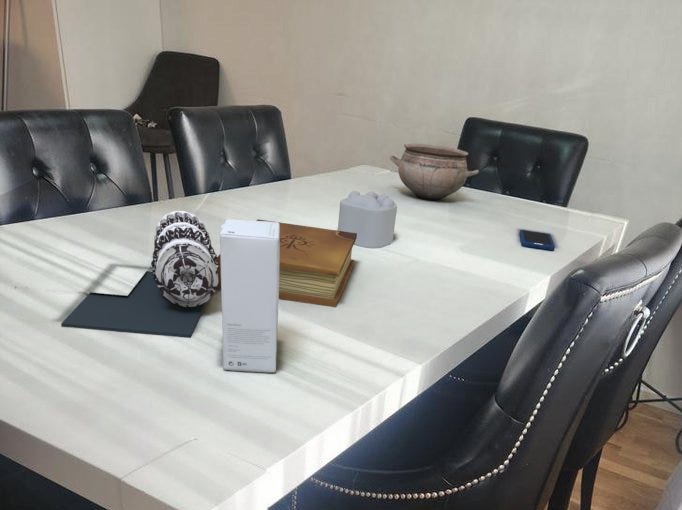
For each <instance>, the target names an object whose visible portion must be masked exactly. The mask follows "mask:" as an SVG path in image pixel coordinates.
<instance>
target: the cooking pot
mask: <svg viewBox="0 0 682 510" xmlns="http://www.w3.org/2000/svg"><path fill="white" fill-rule="evenodd" d="M403 147H404V148H405V150H404V152H403V153H402V156H401V157H400V158H399V157H397V156H395V155H390V156H389V160H390V161H391V162H392V163H393V164H395V166H397V167H398V171H397V172H398V176H399V179H400V181H401V182H402V183H403V185H404V186H405V187H406V188H407V189H408V190H409V191H410V192H411V193H413V194H414V195H415V196H416V197H417V198H419V199H422V200H427V201H440V200H442V199H444V198H446V197H448V196H451V195H452V194H455V193H456V192H458V191H459V190H460V189H461V188H462V187H463V186H464V185H465V183H466V181H467V178H470V177H472V176H476V175H478V174H479V172H480V169H474V170H468V164H467V163H468V162H467V156H468V155H469V152H468V151H465V150H462V149H458V148H454V147H449V146H444V145H443V146H442V145H437V144H428V143H404V145H403Z"/></svg>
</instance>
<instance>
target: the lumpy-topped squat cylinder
mask: <svg viewBox="0 0 682 510" xmlns="http://www.w3.org/2000/svg"><path fill="white" fill-rule="evenodd" d="M397 211H398V205H397V203H396V202H395V201H394V199H392V198H390V197H389V195H388V194H386V193H382V194H380V195H378V193H377V192H375V191H369V192H367V193H366V194H361V193H360V192H359V191H357V190H353V191H351V192H350V193H349V194H348V196H347V197H346V198H343V199H340V202H339V211H338V223H337V231H344V232H351V233H357V239H356V241H355V243H354V246H355V245H356V246H359V247H362V248H367V249H379V248H380V249H381V248H384V247H387V246H389V245H391V244H393V242H394V234H395V226H396V221H397V220H396V219H397Z"/></svg>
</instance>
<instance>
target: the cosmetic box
mask: <svg viewBox="0 0 682 510" xmlns="http://www.w3.org/2000/svg"><path fill="white" fill-rule="evenodd" d="M266 221H267V220H266ZM266 221H256V220H245V219H234V218H233V219H231V218H226V219H225V221H224V223H223V224H221V225H220V228H221V230H220V233H219V251H220V253H219V255H220V258H221V290H220V294H221V322H222V323H221V325H222V367H223V370H225V371H232V372H233V371H234V372H250V373H251V372H252V373H276V371H277V355H278V333H279V331H278V329H279V328H278V327H279V300H280V299H279V259H280V226H279V223H277V222H278V221H273V222H266Z"/></svg>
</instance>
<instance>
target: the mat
mask: <svg viewBox="0 0 682 510" xmlns="http://www.w3.org/2000/svg"><path fill="white" fill-rule="evenodd" d="M206 305H207V302H205V303H203V304H201V305H199V306H192V307H184V306H181V305H177V304H174V303H172V302H171V301H170V300H169V299H167V298H166V297H165V296H164V295H163V294H162V292H161V290H160V289H159V287H158V285H157V283H156V282H155V281H154V276H153V272H152V270H151V271H150V270H146V271H145V272H144V274H143V275H142V276H141V277H140V278H139V280H138V281H137V283H135V285H134V287H133V288H131V290H130V291H129V293H128V294H127V295H123V294H113V293H101V292H100V293H99V292H89V293H88V294H87V295H86V296H85V297H84V298H83V299H82V301H81V302H80V303H79V304H78V305H77V306H76V307H75V308H74V309H73V310H72V311H71V312H70V314H69V315H67V316H66V318H64V320H63V321H62V322H61V323H60V325H61V327H63V328H76V329H78V328H79V329H87V330H97V331H98V330H99V331H111V332H121V333H122V332H123V333H132V334H133V333H135V334H146V335H158V336H168V337H169V336H171V337H182V338H191V337H192V335H193V333H194V330H195V329H196V327H197V324H198V322H199V320H200V318H201V315H202V313H203V311H204V309H205V307H206Z"/></svg>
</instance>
